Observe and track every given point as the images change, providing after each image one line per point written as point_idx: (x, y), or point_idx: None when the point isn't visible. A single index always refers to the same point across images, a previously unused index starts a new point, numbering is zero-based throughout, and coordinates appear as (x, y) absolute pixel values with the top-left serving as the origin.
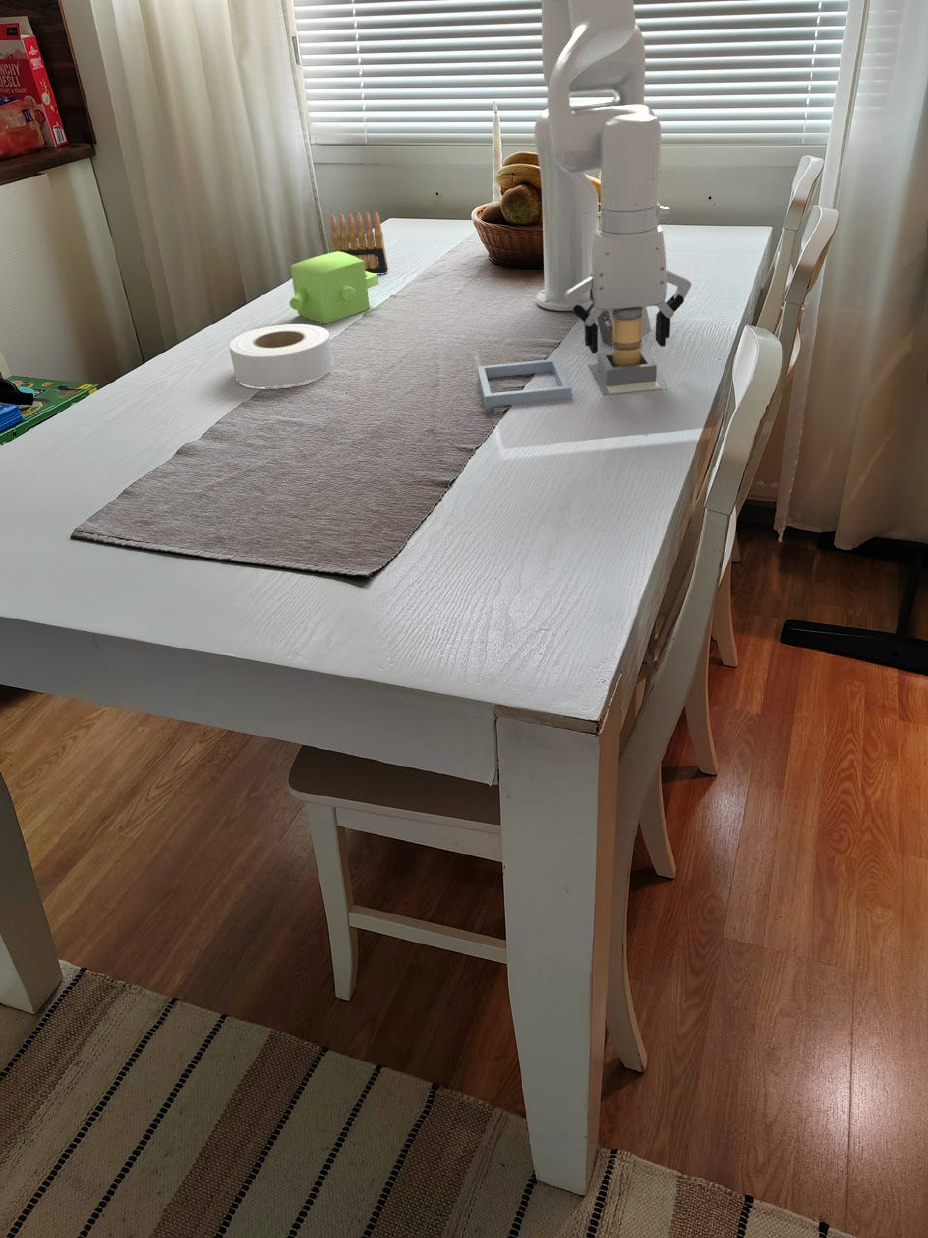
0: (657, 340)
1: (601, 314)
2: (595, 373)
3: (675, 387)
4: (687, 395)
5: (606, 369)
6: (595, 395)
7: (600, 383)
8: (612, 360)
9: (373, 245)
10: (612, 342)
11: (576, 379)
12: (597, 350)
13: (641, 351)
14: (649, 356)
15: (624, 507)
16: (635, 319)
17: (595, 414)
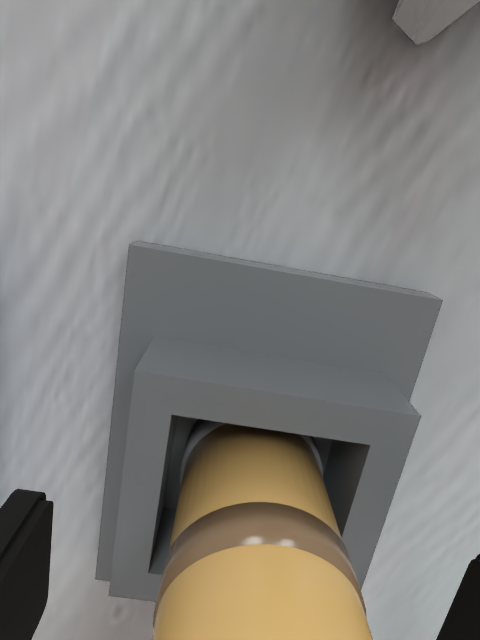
0: (461, 605)
1: None
2: (131, 371)
3: (396, 539)
4: (392, 606)
5: (111, 580)
6: (92, 496)
7: (117, 481)
8: (180, 492)
9: None
10: (157, 596)
11: (59, 312)
12: (38, 618)
13: (380, 443)
14: (378, 521)
15: None
16: None
17: (49, 626)
